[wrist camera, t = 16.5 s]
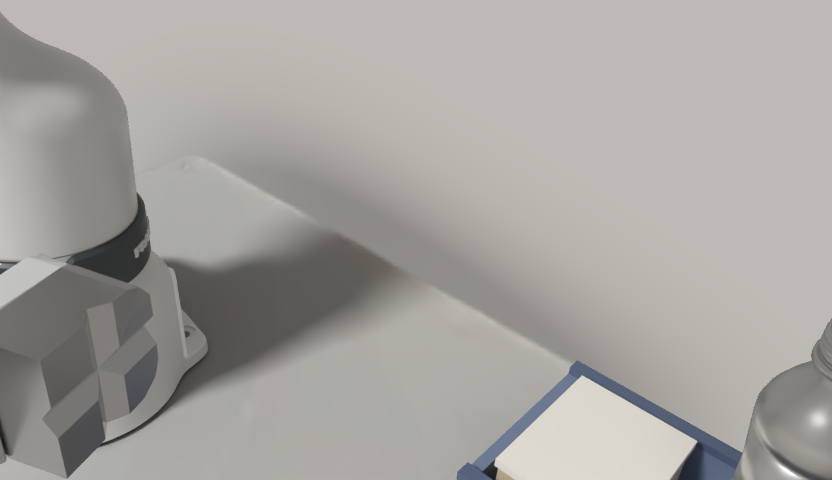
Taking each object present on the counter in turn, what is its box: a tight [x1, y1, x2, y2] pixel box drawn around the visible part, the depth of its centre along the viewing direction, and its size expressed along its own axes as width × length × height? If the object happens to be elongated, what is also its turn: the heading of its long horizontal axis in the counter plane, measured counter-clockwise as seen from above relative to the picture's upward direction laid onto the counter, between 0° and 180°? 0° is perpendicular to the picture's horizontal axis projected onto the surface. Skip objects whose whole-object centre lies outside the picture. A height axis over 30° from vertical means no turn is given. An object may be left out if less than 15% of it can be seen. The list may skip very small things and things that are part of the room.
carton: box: [494, 376, 698, 480], centre depth 48 cm, size 8×10×5 cm
